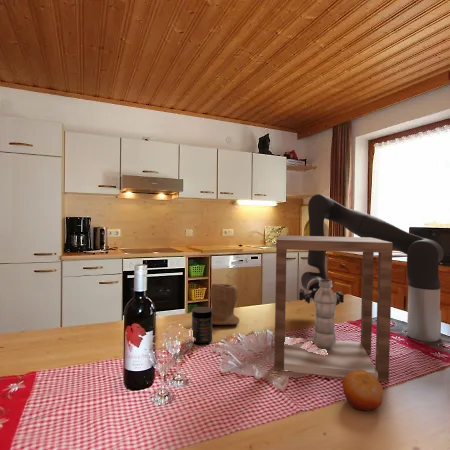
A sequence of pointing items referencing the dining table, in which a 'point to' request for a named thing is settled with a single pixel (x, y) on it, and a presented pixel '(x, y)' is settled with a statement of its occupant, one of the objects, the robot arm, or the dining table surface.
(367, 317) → the walnut shelf
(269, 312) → the dining table surface
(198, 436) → the dining table surface
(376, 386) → the fruit
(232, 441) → the dining table surface
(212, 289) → the brown ankle boot
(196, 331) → the supplement container
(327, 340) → the plastic bottle
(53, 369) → the dining table surface
